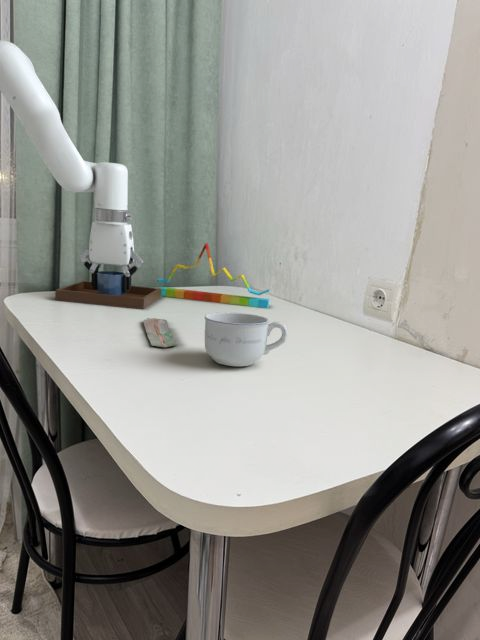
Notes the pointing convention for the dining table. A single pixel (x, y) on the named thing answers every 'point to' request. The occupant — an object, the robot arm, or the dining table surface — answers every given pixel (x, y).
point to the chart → (213, 296)
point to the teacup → (239, 337)
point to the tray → (108, 296)
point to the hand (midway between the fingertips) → (111, 289)
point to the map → (159, 332)
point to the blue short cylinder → (110, 282)
